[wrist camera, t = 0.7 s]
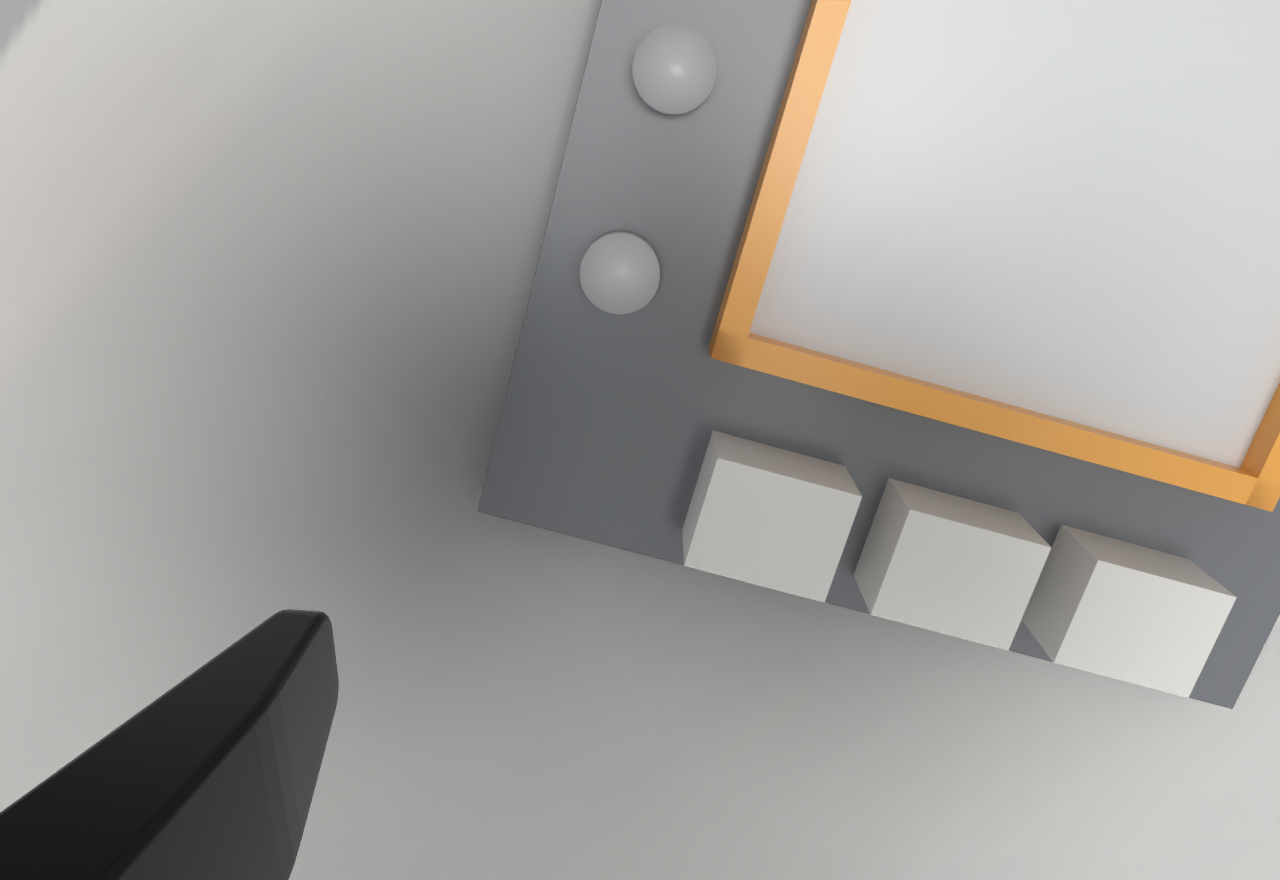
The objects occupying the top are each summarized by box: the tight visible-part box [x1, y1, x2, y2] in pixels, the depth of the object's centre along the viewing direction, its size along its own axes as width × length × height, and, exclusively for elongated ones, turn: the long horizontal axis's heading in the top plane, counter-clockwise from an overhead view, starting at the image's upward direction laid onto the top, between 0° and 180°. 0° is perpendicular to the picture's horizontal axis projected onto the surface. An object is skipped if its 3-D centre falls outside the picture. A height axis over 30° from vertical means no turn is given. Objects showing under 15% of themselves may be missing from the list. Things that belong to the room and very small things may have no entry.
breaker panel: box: [478, 0, 1280, 709], centre depth 20 cm, size 18×18×3 cm
